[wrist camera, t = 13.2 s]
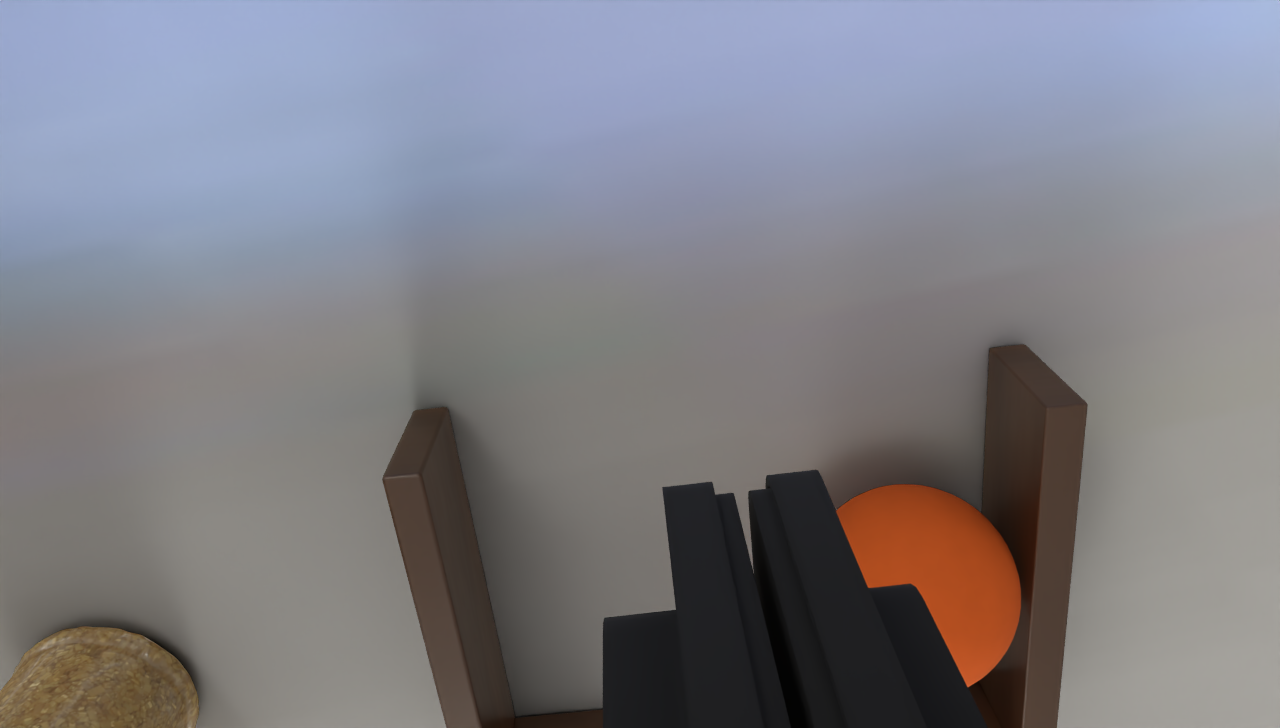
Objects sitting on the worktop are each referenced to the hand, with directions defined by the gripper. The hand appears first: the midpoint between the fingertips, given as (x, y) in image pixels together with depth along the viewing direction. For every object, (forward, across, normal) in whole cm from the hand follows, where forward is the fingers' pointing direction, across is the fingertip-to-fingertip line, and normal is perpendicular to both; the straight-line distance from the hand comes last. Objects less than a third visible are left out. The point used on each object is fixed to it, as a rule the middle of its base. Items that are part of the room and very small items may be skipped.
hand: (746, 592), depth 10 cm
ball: (+8, -4, +7) cm, 11 cm away
